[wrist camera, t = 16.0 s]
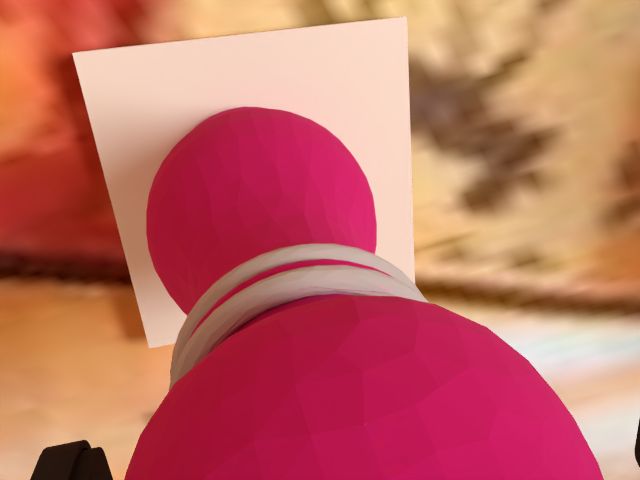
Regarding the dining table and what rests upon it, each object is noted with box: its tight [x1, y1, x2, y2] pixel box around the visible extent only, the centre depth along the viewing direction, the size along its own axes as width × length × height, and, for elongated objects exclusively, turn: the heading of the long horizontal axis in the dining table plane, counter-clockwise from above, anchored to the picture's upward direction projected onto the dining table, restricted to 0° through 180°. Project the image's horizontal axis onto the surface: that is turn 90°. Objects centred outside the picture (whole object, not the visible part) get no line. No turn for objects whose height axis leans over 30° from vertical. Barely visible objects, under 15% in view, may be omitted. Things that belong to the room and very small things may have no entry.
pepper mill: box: [124, 107, 604, 480], centre depth 12 cm, size 7×7×20 cm
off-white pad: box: [72, 17, 415, 348], centre depth 22 cm, size 12×12×1 cm
